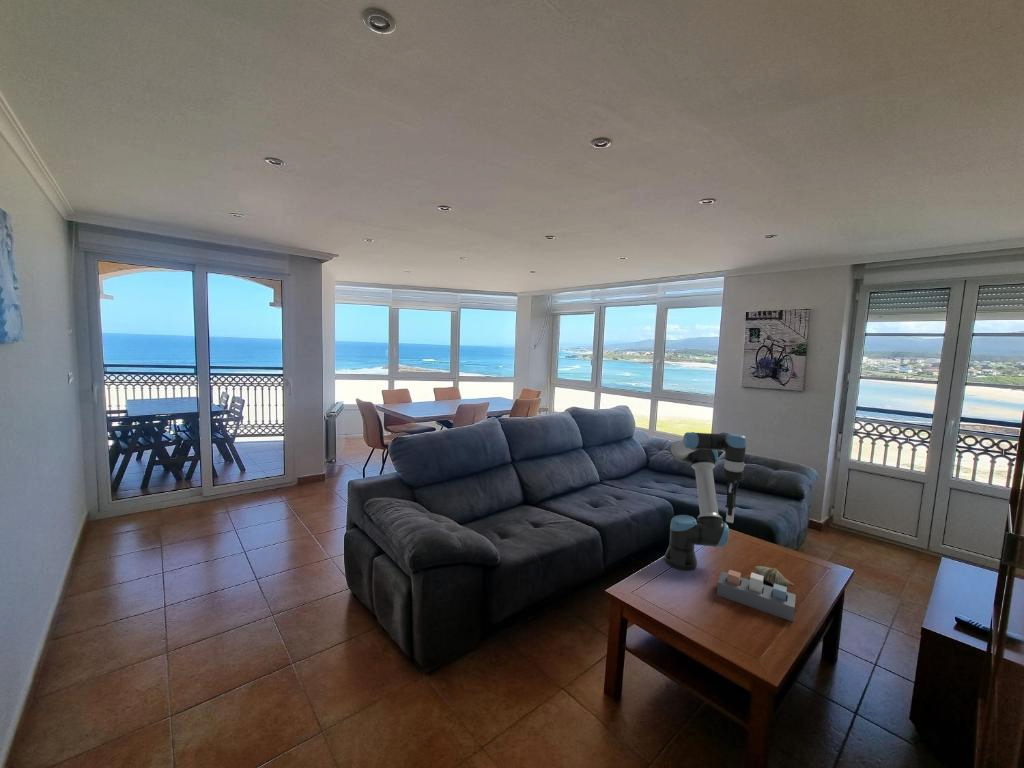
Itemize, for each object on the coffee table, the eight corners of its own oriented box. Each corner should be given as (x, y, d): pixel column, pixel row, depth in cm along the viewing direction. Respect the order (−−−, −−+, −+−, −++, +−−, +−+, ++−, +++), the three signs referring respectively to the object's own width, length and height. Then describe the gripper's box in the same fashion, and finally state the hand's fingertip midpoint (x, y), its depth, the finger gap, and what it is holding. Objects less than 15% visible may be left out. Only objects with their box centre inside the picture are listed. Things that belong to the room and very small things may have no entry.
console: (716, 594, 181) (717, 582, 180) (721, 583, 189) (722, 571, 189) (793, 621, 164) (794, 607, 164) (794, 607, 173) (795, 594, 172)
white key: (748, 592, 176) (750, 577, 175) (750, 587, 180) (751, 572, 179) (761, 596, 173) (762, 580, 172) (762, 591, 177) (763, 576, 176)
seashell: (796, 578, 186) (781, 562, 185) (791, 596, 181) (776, 580, 181) (767, 576, 198) (753, 562, 198) (762, 593, 193) (747, 578, 193)
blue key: (771, 604, 171) (773, 588, 170) (772, 598, 175) (774, 583, 174) (784, 608, 168) (786, 592, 168) (785, 603, 172) (787, 587, 171)
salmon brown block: (726, 588, 181) (727, 573, 180) (728, 584, 185) (729, 569, 184) (738, 592, 178) (739, 577, 178) (739, 587, 182) (741, 573, 181)
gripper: (741, 475, 171) (736, 529, 173) (745, 467, 181) (741, 519, 184) (721, 471, 175) (717, 524, 178) (726, 464, 186) (722, 514, 188)
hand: (729, 521), depth 181 cm, fingers closed
